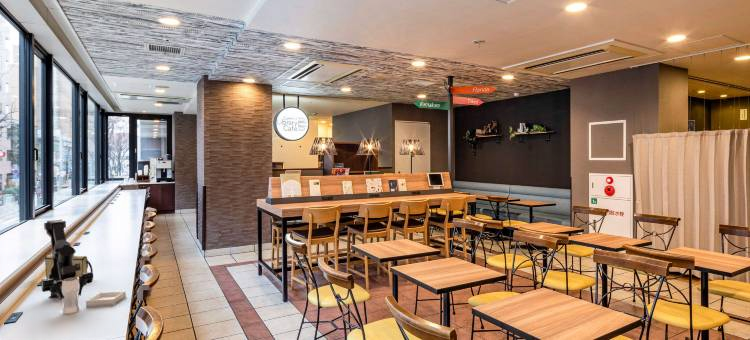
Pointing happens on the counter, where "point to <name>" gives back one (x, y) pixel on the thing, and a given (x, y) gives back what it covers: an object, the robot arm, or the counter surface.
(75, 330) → the counter surface
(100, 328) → the counter surface
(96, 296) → the tray
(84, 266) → the clutch purse
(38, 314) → the counter surface
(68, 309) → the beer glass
